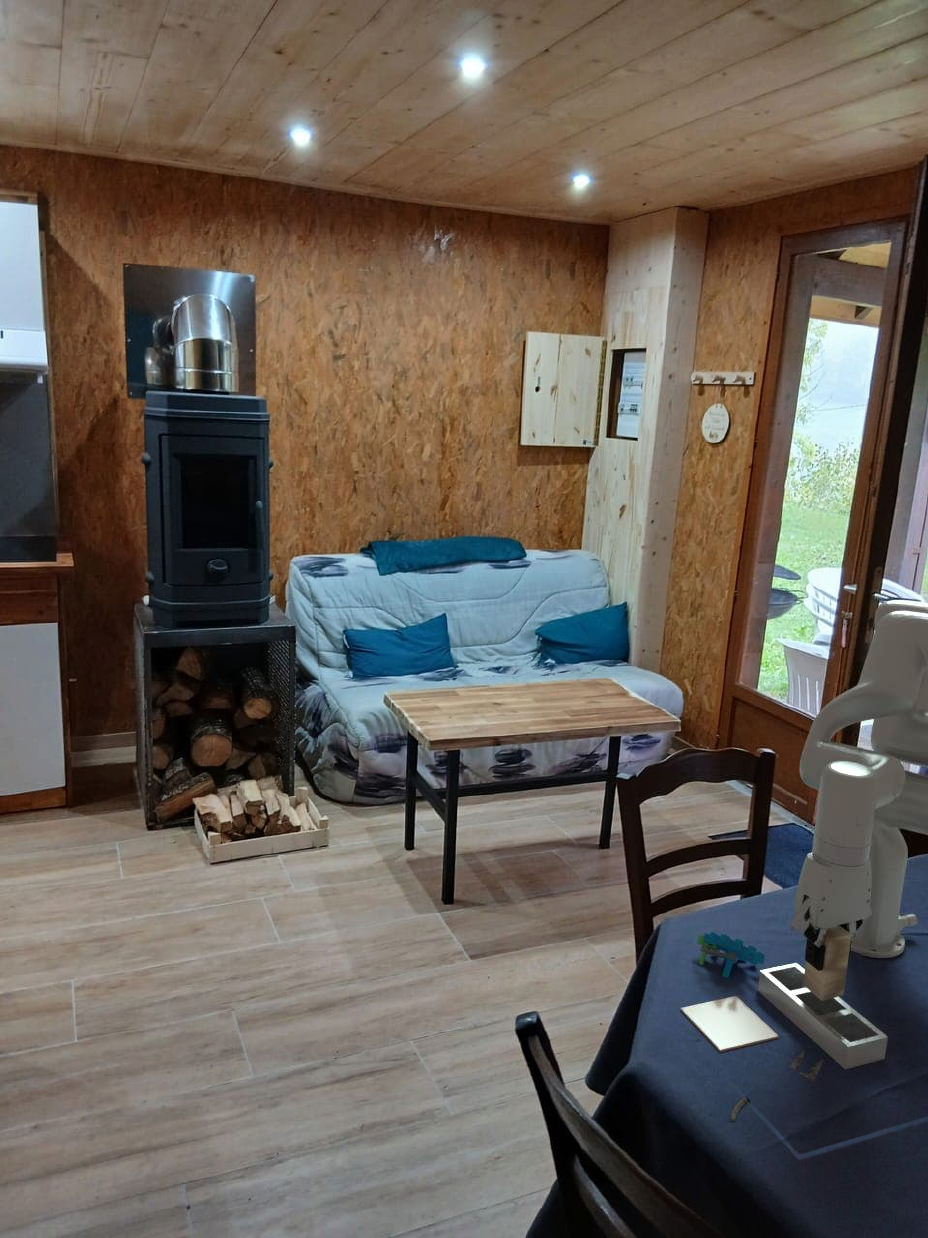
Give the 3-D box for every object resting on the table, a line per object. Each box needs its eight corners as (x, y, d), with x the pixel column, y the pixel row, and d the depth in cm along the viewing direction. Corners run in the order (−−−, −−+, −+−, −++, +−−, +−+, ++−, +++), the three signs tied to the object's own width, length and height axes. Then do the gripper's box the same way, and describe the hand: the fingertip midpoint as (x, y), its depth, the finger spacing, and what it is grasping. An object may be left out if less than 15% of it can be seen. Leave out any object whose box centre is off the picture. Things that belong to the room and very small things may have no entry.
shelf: (793, 985, 150) (796, 963, 149) (884, 1062, 132) (887, 1037, 132) (757, 993, 147) (760, 970, 146) (844, 1072, 130) (848, 1047, 129)
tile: (735, 1000, 145) (736, 996, 145) (777, 1040, 136) (778, 1036, 136) (680, 1013, 142) (680, 1008, 142) (720, 1055, 133) (720, 1050, 132)
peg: (824, 980, 142) (831, 920, 139) (843, 995, 138) (851, 934, 136) (802, 985, 140) (810, 924, 138) (821, 1001, 137) (829, 939, 134)
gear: (774, 962, 153) (754, 938, 147) (764, 998, 150) (744, 975, 144) (712, 945, 160) (690, 921, 154) (701, 978, 158) (679, 955, 152)
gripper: (867, 829, 140) (852, 939, 144) (775, 845, 134) (763, 959, 139) (906, 851, 133) (890, 966, 138) (811, 869, 128) (797, 988, 132)
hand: (826, 961), depth 138 cm, fingers closed on peg, 4 cm apart
